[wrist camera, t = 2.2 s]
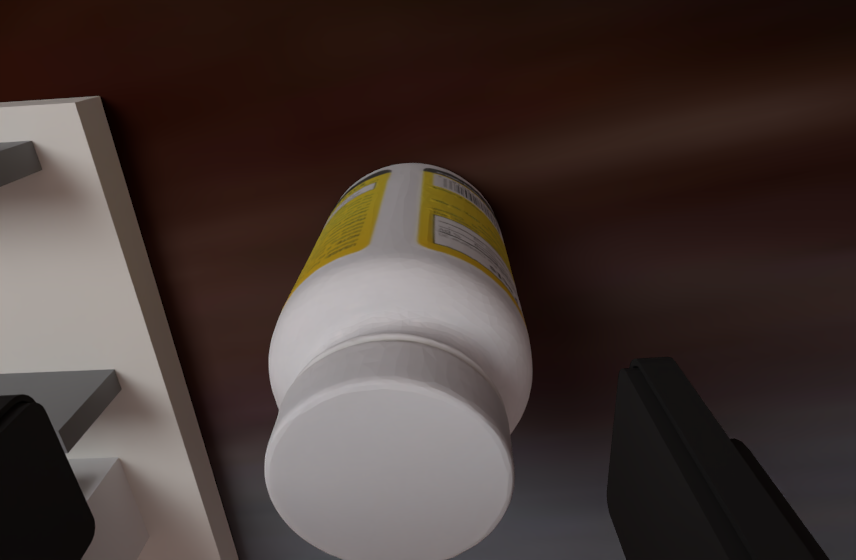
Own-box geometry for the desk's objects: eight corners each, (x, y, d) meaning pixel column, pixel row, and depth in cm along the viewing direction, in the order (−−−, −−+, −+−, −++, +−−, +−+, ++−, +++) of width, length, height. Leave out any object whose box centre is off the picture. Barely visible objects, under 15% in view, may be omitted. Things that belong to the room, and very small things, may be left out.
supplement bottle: (334, 320, 19) (237, 593, 10) (321, 158, 17) (182, 330, 8) (496, 322, 19) (543, 601, 10) (508, 160, 16) (581, 337, 8)
